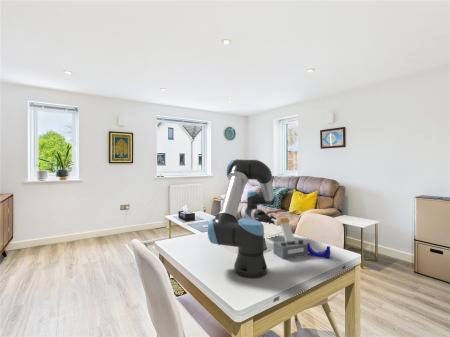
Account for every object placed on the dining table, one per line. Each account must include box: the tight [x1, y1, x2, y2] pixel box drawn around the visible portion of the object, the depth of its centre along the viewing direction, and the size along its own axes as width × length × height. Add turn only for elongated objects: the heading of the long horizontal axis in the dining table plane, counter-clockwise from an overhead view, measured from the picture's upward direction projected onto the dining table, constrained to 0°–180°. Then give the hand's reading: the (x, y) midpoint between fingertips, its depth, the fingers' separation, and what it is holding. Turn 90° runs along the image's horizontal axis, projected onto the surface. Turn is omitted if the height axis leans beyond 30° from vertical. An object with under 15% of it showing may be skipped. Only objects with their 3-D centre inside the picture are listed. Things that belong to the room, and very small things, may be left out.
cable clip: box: [305, 242, 331, 260], centre depth 132 cm, size 12×4×6 cm, turn 61°
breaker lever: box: [277, 217, 296, 244], centre depth 136 cm, size 6×3×14 cm
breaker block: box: [272, 239, 309, 260], centre depth 133 cm, size 16×9×8 cm, turn 111°
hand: (278, 223), depth 144 cm, fingers closed
